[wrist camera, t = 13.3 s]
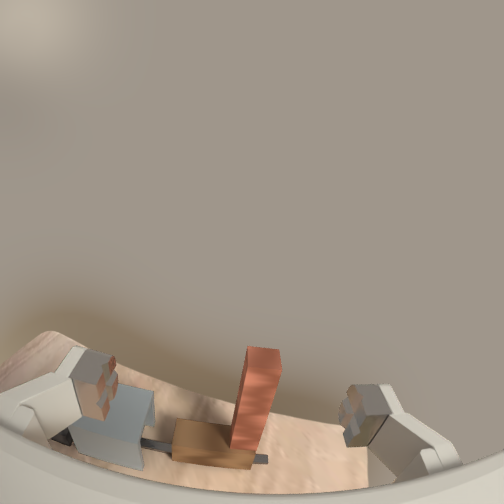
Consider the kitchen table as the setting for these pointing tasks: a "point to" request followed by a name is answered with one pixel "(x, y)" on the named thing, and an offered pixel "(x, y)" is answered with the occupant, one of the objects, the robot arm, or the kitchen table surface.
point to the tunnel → (117, 428)
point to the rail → (168, 449)
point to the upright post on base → (244, 419)
